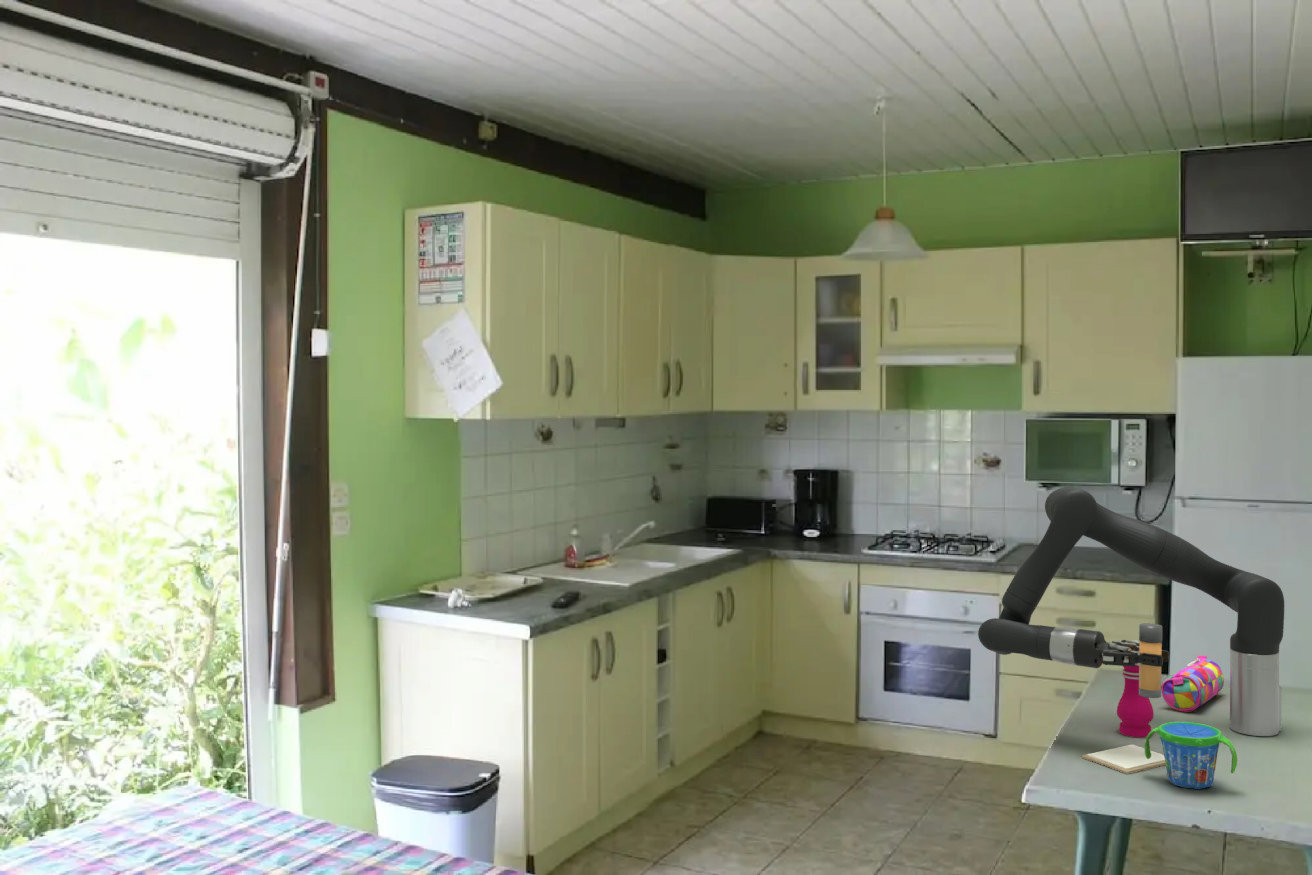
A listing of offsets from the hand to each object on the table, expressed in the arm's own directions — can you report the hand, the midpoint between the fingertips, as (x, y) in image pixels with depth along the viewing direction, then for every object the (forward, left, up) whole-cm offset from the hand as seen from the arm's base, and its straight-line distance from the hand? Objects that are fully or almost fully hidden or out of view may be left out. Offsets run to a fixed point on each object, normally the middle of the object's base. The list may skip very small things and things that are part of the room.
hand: (1165, 658), depth 221 cm
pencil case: (-39, -24, -20) cm, 50 cm away
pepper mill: (-9, -15, -20) cm, 26 cm away
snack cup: (+7, +11, -20) cm, 24 cm away
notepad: (+6, -3, -20) cm, 21 cm away
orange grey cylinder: (+1, -3, -8) cm, 8 cm away
